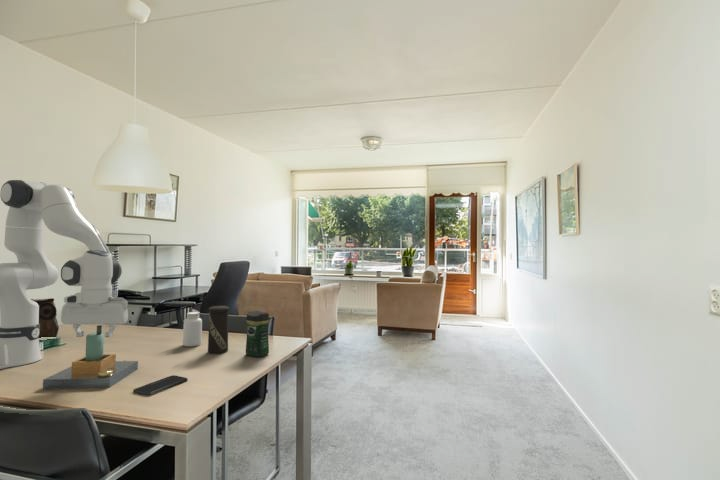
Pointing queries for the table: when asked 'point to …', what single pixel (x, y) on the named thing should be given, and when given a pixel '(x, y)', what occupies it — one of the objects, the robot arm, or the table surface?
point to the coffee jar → (257, 334)
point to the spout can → (95, 345)
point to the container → (218, 329)
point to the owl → (47, 317)
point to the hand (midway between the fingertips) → (94, 336)
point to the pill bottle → (192, 330)
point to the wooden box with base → (91, 373)
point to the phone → (160, 385)
